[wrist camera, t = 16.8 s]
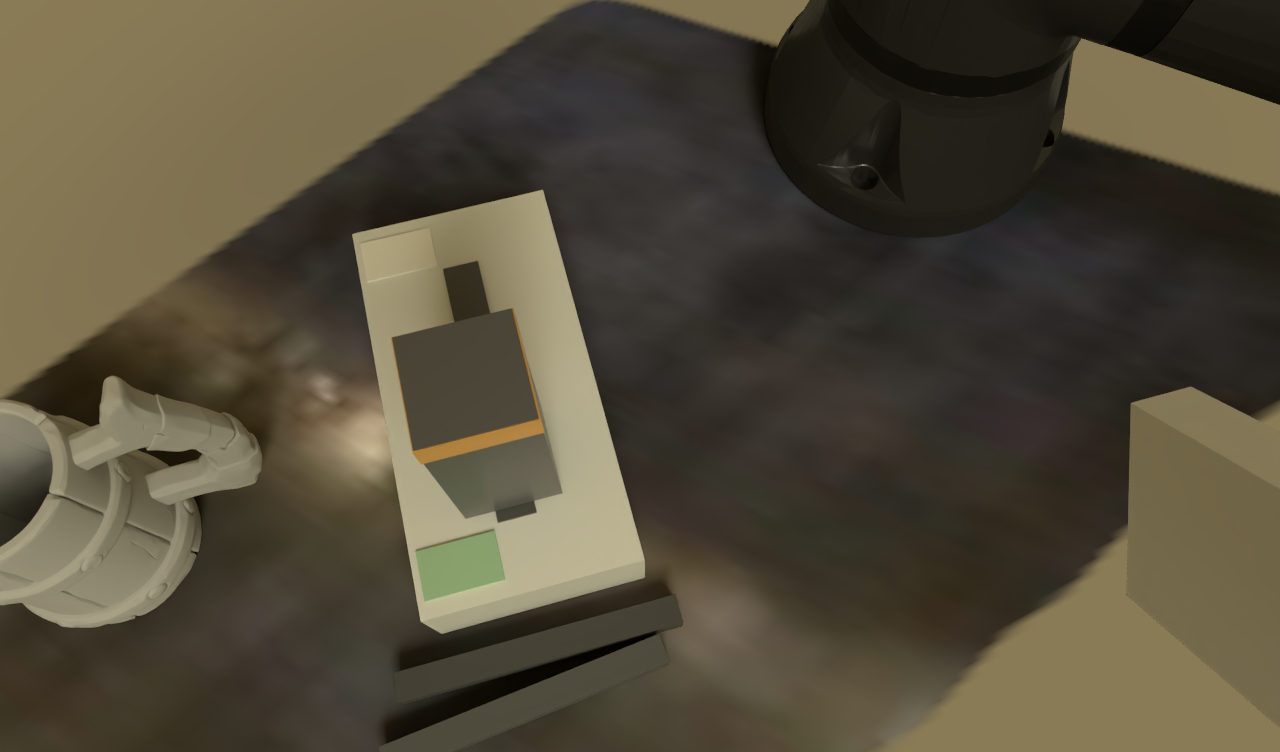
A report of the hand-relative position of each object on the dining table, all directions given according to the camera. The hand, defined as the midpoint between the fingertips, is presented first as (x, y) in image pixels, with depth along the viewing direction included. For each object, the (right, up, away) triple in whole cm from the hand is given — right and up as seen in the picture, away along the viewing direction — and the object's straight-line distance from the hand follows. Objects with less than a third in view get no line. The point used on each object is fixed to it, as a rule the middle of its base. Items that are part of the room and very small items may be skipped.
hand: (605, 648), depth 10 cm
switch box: (-6, +1, +33) cm, 33 cm away
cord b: (-4, -11, +28) cm, 30 cm away
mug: (-21, -4, +31) cm, 37 cm away
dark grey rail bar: (-4, -9, +29) cm, 30 cm away
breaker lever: (-5, 0, +27) cm, 28 cm away
